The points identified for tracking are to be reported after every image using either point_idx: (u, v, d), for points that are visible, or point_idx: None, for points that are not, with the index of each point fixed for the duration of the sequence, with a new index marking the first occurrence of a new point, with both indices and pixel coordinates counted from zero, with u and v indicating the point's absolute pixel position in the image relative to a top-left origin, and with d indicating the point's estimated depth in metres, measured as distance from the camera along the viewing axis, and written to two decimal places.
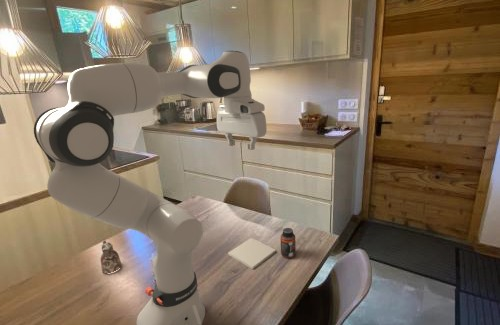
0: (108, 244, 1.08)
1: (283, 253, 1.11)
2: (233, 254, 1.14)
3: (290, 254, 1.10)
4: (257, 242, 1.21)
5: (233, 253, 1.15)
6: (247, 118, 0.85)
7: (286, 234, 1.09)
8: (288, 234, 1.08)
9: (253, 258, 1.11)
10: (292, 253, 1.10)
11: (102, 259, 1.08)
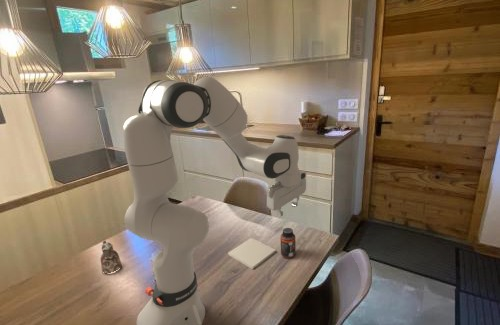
0: (108, 244, 1.08)
1: (283, 253, 1.11)
2: (233, 254, 1.14)
3: (290, 254, 1.10)
4: (257, 242, 1.21)
5: (233, 253, 1.15)
6: (299, 182, 1.07)
7: (286, 234, 1.09)
8: (288, 234, 1.08)
9: (253, 258, 1.11)
10: (292, 253, 1.10)
11: (102, 259, 1.08)
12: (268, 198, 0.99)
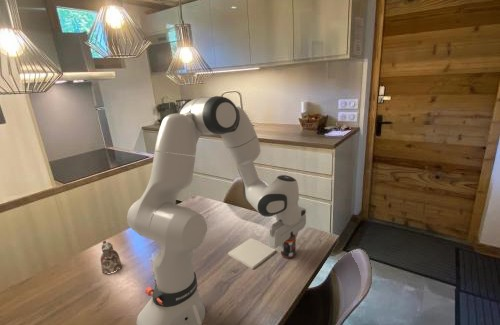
0: (108, 244, 1.08)
1: (283, 253, 1.11)
2: (233, 254, 1.14)
3: (290, 254, 1.10)
4: (257, 242, 1.21)
5: (233, 253, 1.15)
6: (299, 218, 1.11)
7: None
8: None
9: (253, 258, 1.11)
10: (292, 253, 1.10)
11: (102, 259, 1.08)
12: (270, 236, 1.04)
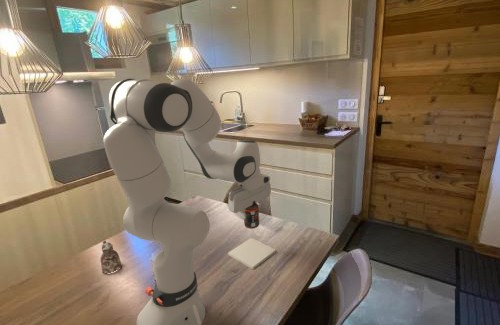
0: (108, 244, 1.08)
1: (246, 223, 1.08)
2: (233, 254, 1.14)
3: (252, 224, 1.07)
4: (257, 242, 1.21)
5: (233, 253, 1.15)
6: (263, 186, 1.09)
7: None
8: None
9: (253, 258, 1.11)
10: (255, 223, 1.08)
11: (102, 259, 1.08)
12: (229, 201, 1.01)
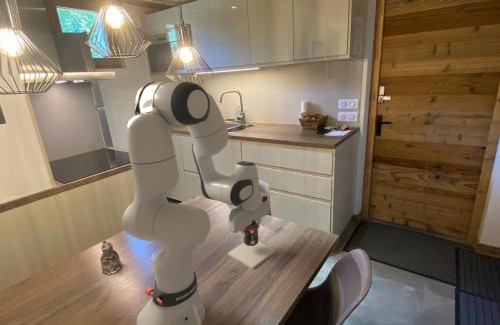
0: (108, 244, 1.08)
1: (245, 241, 1.12)
2: (233, 254, 1.14)
3: (252, 242, 1.11)
4: None
5: (233, 253, 1.15)
6: (262, 205, 1.12)
7: None
8: None
9: (253, 258, 1.11)
10: (254, 241, 1.11)
11: (102, 259, 1.08)
12: (229, 221, 1.04)
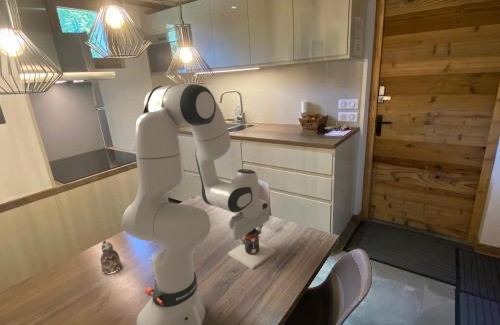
0: (108, 244, 1.08)
1: (246, 249, 1.13)
2: (233, 254, 1.14)
3: (253, 250, 1.12)
4: None
5: (233, 253, 1.15)
6: (262, 212, 1.13)
7: None
8: (250, 231, 1.10)
9: (253, 258, 1.11)
10: (255, 249, 1.12)
11: (102, 259, 1.08)
12: (229, 228, 1.05)
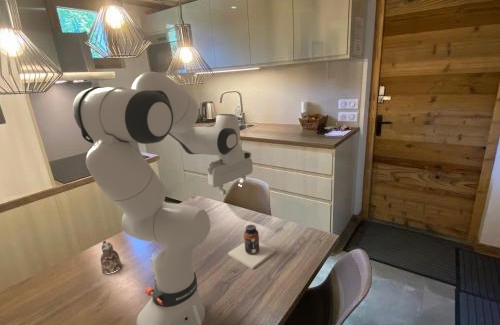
0: (108, 244, 1.08)
1: (246, 249, 1.13)
2: (233, 254, 1.14)
3: (253, 250, 1.12)
4: None
5: (233, 253, 1.15)
6: (244, 162, 1.08)
7: (248, 230, 1.11)
8: (250, 231, 1.10)
9: (253, 258, 1.11)
10: (255, 249, 1.12)
11: (102, 259, 1.08)
12: (208, 175, 1.00)
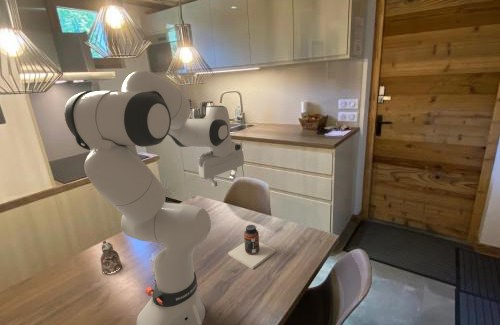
0: (108, 244, 1.08)
1: (246, 249, 1.13)
2: (233, 254, 1.14)
3: (253, 250, 1.12)
4: None
5: (233, 253, 1.15)
6: (235, 154, 1.09)
7: (248, 230, 1.11)
8: (250, 231, 1.10)
9: (253, 258, 1.11)
10: (255, 249, 1.12)
11: (102, 259, 1.08)
12: (199, 167, 1.01)
